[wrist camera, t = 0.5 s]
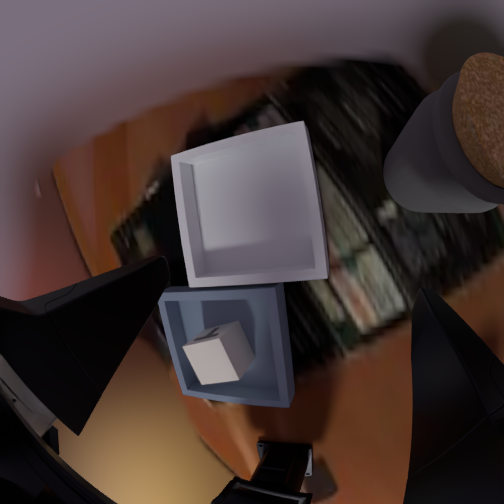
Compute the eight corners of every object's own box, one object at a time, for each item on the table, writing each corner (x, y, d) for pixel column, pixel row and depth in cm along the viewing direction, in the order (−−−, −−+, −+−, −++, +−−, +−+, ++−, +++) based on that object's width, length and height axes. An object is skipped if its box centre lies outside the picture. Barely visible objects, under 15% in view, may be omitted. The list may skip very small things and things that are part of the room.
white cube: (255, 357, 24) (239, 379, 20) (220, 364, 26) (201, 384, 22) (238, 319, 24) (218, 337, 20) (203, 329, 26) (181, 345, 22)
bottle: (383, 135, 18) (427, 17, 4) (447, 147, 16) (553, 74, 2) (379, 206, 19) (448, 194, 5) (445, 217, 17) (572, 232, 3)
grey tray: (329, 271, 21) (327, 278, 19) (203, 280, 25) (189, 287, 23) (308, 130, 20) (303, 120, 18) (186, 160, 24) (170, 156, 22)
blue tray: (295, 392, 24) (289, 407, 22) (194, 383, 28) (183, 394, 26) (282, 280, 23) (274, 287, 20) (171, 286, 27) (156, 292, 24)
